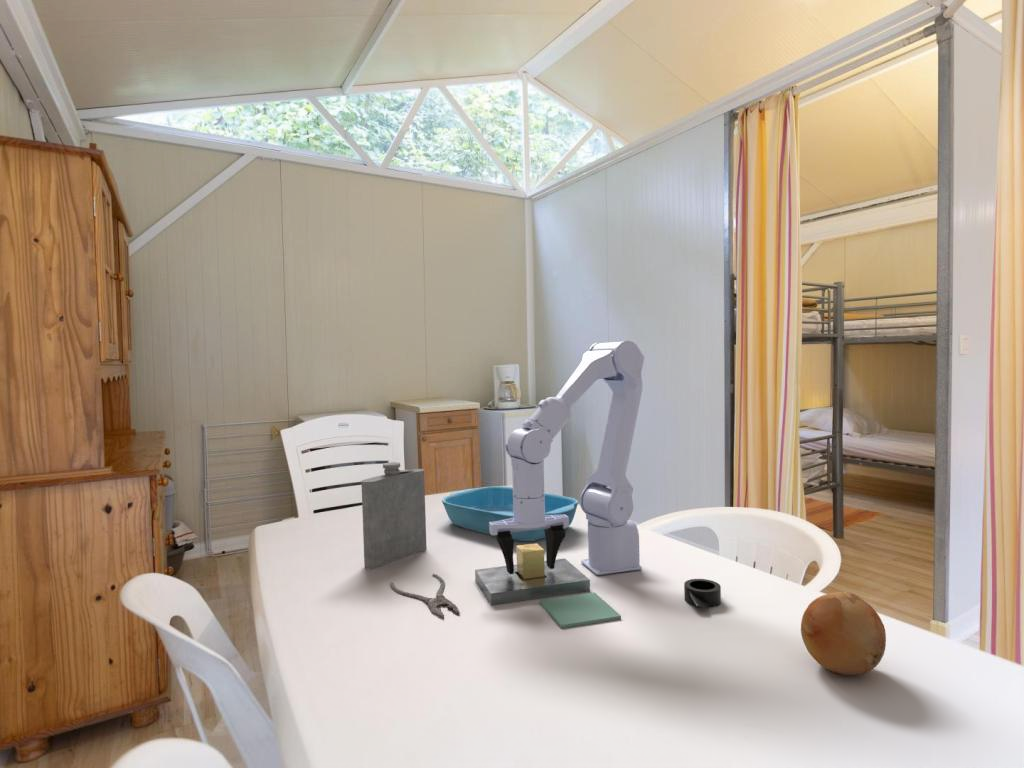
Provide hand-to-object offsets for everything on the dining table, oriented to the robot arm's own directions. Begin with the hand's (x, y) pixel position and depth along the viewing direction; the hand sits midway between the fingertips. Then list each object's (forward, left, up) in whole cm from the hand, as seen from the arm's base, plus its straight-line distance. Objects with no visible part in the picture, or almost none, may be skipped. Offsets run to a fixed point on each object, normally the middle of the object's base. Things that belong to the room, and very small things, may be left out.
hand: (530, 569), depth 109 cm
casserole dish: (-7, -39, -3) cm, 40 cm away
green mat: (-4, +13, -3) cm, 14 cm away
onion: (-29, +41, -3) cm, 50 cm away
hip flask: (+22, -25, -3) cm, 33 cm away
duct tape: (-25, +16, -3) cm, 30 cm away
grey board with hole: (0, 0, -3) cm, 3 cm away
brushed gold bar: (0, 0, -3) cm, 3 cm away
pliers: (+17, -2, -3) cm, 17 cm away
